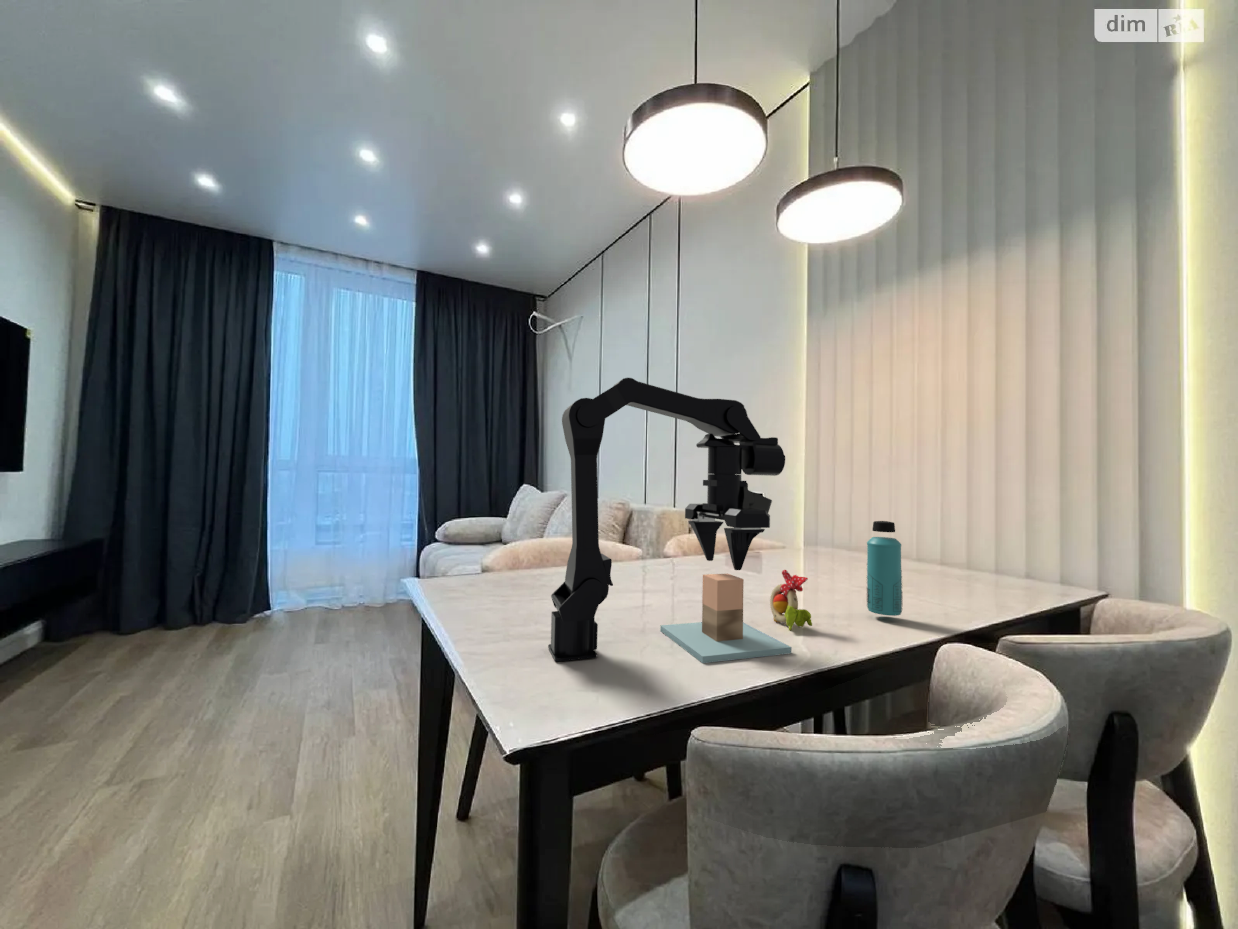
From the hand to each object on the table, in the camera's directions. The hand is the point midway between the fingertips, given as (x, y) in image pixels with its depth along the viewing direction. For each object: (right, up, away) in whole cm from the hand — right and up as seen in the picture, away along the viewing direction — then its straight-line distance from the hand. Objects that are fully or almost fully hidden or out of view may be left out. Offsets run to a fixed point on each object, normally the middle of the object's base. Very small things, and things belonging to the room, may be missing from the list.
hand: (723, 565), depth 83 cm
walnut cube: (0, -12, 0) cm, 12 cm away
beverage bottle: (+36, -15, +16) cm, 42 cm away
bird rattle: (+14, -14, +10) cm, 22 cm away
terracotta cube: (0, -7, 0) cm, 7 cm away
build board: (0, -13, 0) cm, 13 cm away
